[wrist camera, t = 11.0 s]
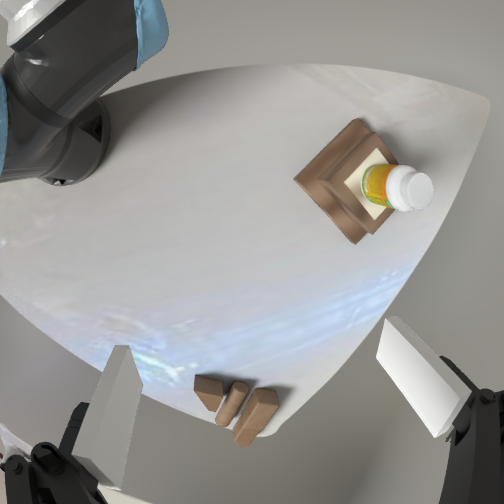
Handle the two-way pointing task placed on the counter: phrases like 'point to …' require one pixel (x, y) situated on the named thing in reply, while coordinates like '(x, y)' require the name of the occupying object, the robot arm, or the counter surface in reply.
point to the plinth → (347, 180)
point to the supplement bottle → (397, 187)
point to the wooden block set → (251, 416)
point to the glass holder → (9, 452)
